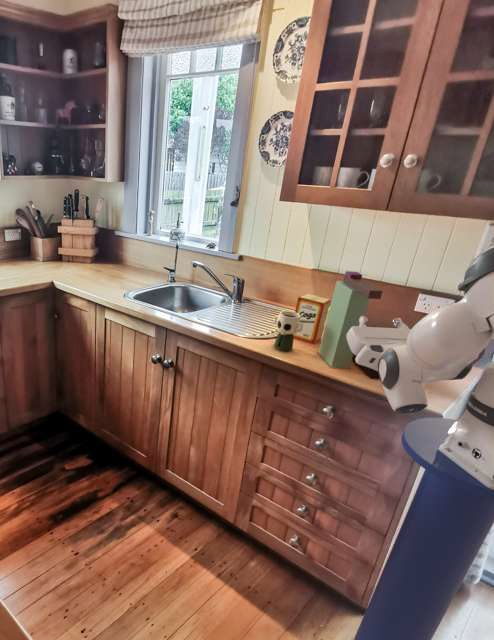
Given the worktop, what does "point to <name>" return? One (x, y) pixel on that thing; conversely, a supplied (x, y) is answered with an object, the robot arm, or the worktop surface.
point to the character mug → (287, 329)
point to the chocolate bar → (361, 285)
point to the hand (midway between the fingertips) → (379, 318)
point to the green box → (341, 324)
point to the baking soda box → (311, 317)
